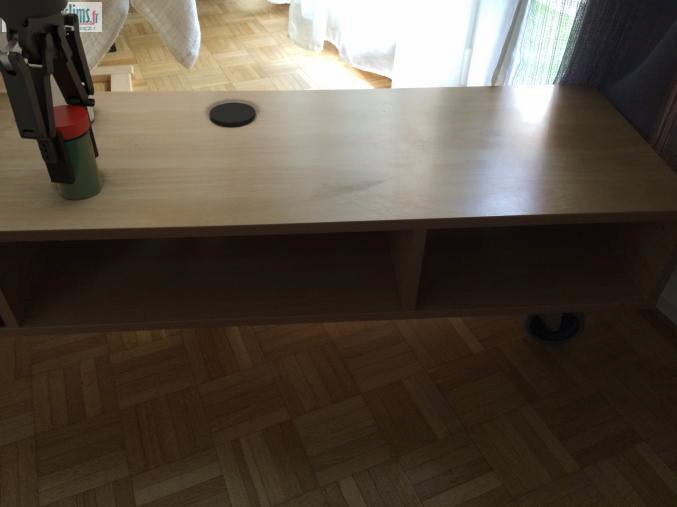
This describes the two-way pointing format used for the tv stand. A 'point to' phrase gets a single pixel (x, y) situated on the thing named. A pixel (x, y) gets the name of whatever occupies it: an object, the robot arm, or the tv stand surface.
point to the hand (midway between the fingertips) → (75, 167)
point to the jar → (81, 169)
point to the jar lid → (71, 120)
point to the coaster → (232, 114)
